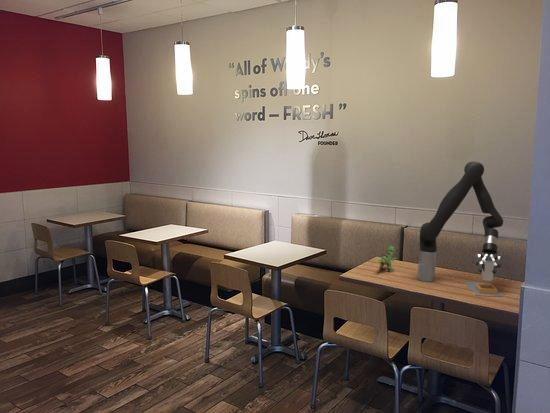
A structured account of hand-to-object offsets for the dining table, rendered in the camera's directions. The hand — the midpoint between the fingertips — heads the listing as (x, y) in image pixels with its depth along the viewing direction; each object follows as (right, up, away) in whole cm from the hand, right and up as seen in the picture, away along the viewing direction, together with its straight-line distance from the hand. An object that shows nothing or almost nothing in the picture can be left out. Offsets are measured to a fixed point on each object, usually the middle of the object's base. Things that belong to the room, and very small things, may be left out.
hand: (487, 272), depth 261 cm
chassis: (+1, -11, +8) cm, 14 cm away
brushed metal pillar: (+1, -4, +2) cm, 5 cm away
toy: (-43, -6, +43) cm, 61 cm away
